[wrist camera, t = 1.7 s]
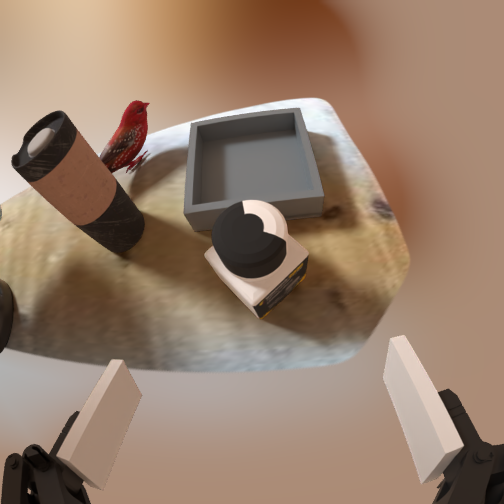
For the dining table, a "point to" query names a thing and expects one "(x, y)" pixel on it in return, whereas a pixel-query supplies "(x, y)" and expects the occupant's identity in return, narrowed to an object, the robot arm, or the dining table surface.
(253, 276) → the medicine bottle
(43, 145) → the travel mug
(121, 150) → the decorative bird figurine
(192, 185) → the open-top bin
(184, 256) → the dining table surface
